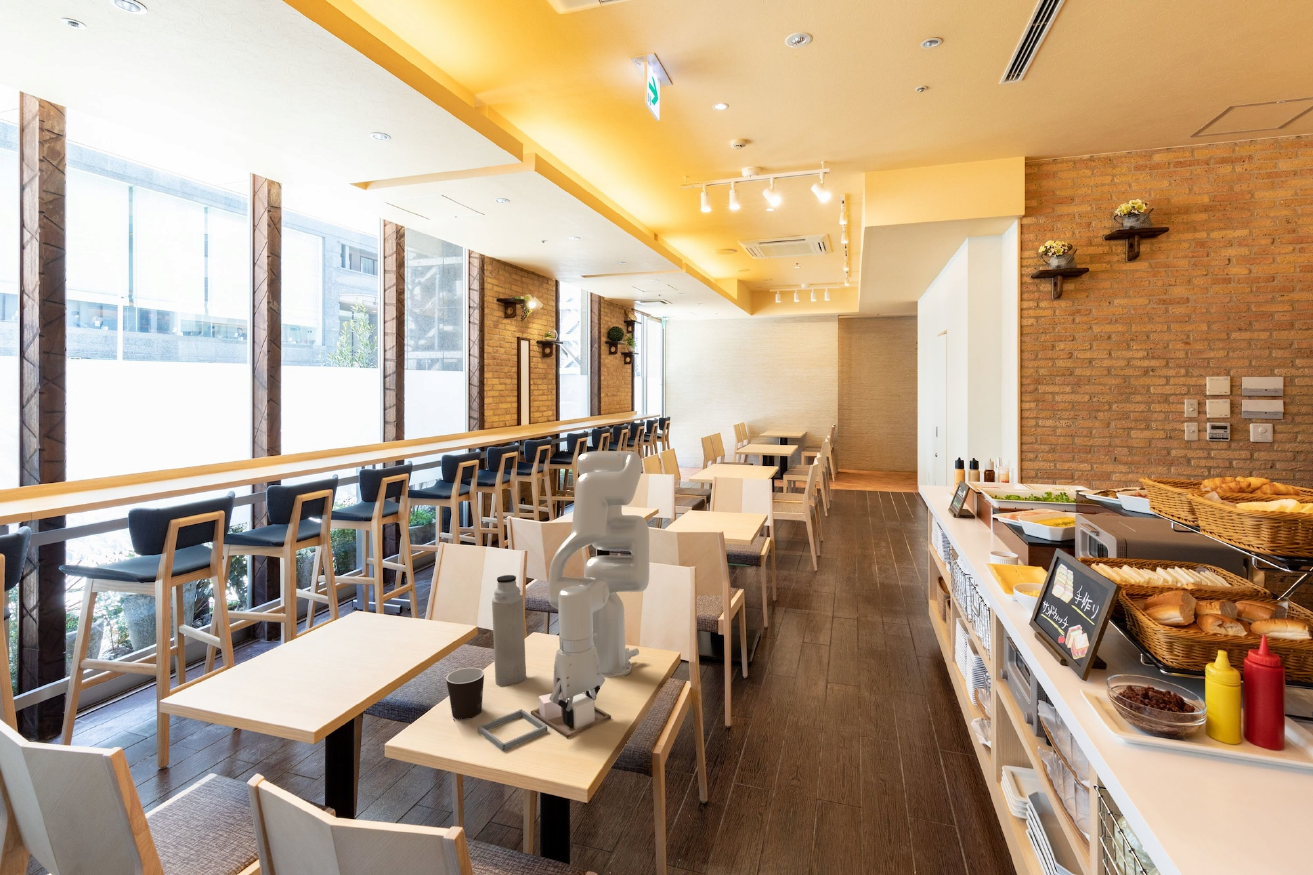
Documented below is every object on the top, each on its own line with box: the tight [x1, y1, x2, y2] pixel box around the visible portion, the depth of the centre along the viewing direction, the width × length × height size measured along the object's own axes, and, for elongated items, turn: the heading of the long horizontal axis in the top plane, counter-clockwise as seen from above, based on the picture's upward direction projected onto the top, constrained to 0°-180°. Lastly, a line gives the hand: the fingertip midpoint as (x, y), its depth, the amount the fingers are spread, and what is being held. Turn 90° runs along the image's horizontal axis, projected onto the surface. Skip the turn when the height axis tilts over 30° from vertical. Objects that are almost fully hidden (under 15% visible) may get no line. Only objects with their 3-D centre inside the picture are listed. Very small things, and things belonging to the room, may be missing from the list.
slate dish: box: [477, 708, 548, 752], centre depth 141 cm, size 11×11×2 cm
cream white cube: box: [566, 693, 595, 729], centre depth 145 cm, size 5×5×5 cm
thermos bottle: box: [491, 574, 527, 688], centre depth 168 cm, size 8×8×28 cm
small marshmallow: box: [538, 693, 561, 720], centre depth 148 cm, size 4×4×4 cm
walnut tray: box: [530, 706, 612, 739], centre depth 147 cm, size 12×15×2 cm
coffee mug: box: [445, 667, 485, 722], centre depth 152 cm, size 12×9×10 cm
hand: (579, 719), depth 145 cm, fingers closed on cream white cube, 4 cm apart
